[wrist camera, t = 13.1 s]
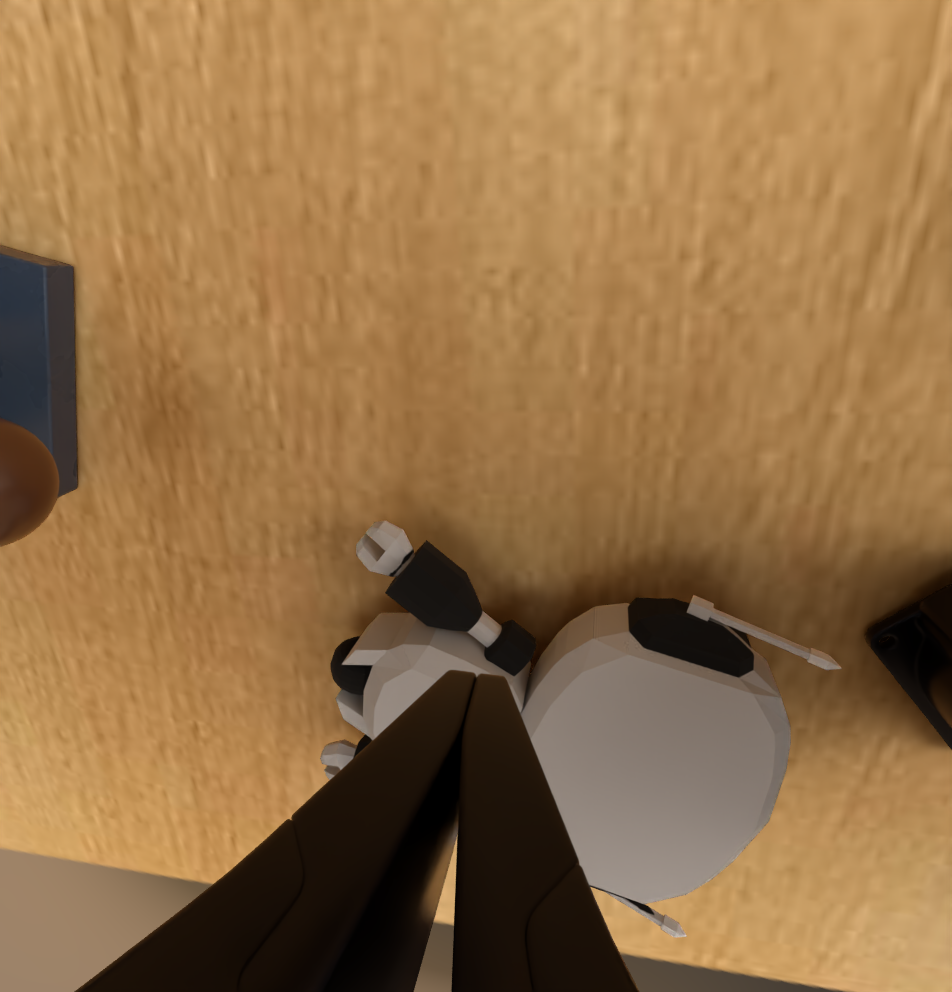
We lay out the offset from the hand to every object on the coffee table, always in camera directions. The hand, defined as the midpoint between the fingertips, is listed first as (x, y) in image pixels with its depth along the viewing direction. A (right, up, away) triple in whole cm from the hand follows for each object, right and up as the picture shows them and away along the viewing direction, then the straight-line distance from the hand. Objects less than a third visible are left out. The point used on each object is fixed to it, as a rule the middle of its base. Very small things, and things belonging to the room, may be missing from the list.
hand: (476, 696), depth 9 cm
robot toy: (+3, -4, +14) cm, 15 cm away
